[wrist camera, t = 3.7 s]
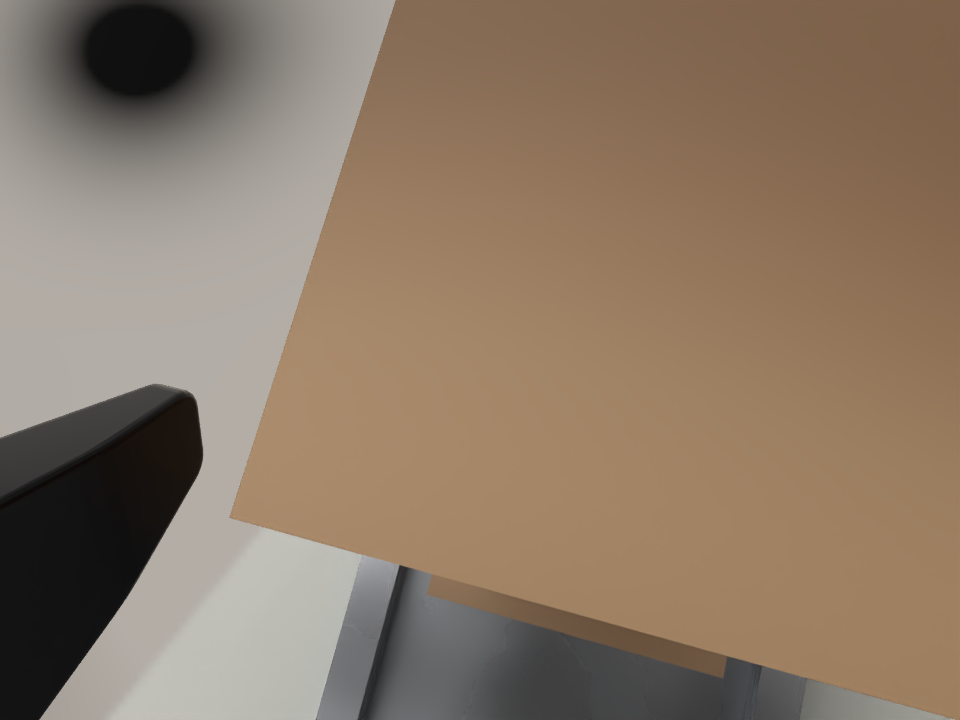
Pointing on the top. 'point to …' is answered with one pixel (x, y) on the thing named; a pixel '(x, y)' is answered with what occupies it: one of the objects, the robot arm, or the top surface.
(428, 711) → the track
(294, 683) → the top surface
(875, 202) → the plate
